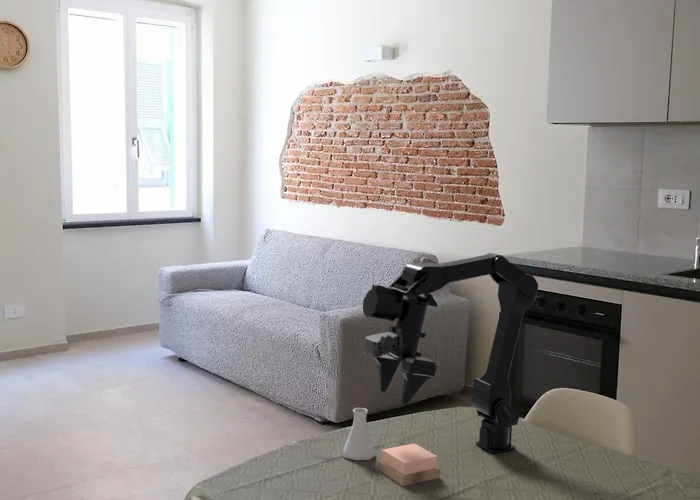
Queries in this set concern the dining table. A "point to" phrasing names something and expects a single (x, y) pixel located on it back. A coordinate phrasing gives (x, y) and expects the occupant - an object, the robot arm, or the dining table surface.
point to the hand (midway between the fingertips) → (393, 397)
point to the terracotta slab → (409, 459)
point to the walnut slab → (408, 478)
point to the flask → (359, 438)
